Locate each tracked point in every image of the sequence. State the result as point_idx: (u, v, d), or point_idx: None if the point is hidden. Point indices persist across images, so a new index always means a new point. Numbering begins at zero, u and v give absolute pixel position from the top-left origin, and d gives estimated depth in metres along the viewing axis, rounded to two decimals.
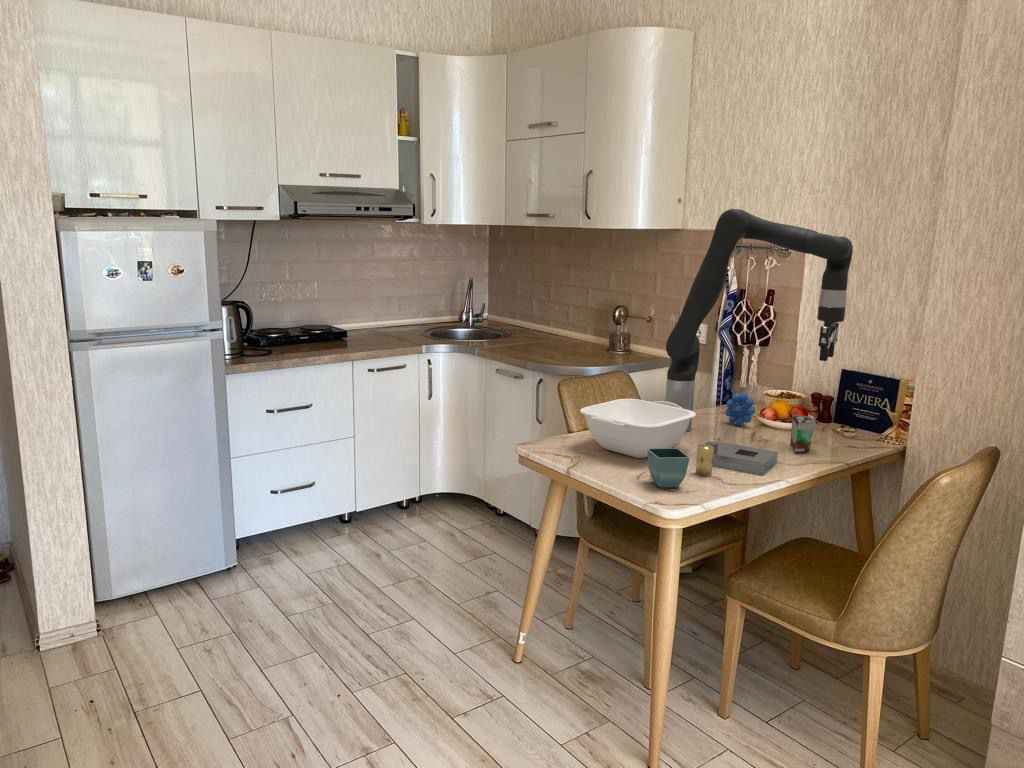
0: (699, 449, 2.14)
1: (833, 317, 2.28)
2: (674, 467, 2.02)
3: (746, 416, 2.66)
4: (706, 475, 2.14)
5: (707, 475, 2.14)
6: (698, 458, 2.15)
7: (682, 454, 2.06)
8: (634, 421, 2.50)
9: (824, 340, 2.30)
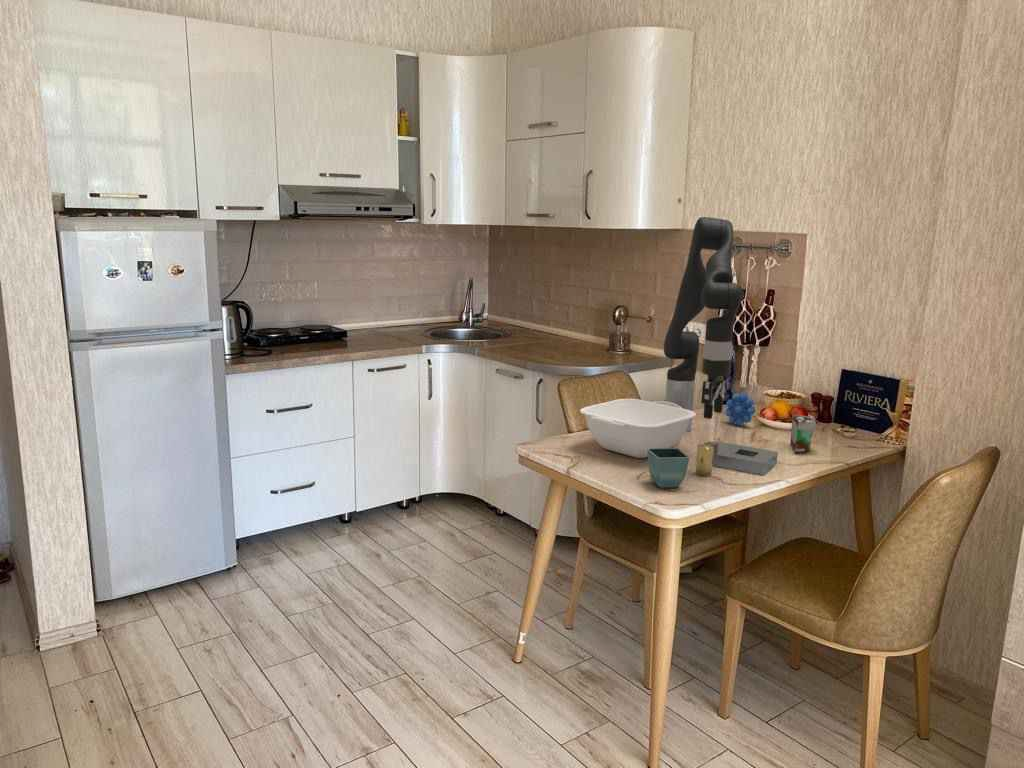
0: (699, 449, 2.14)
1: (717, 371, 2.07)
2: (674, 467, 2.02)
3: (746, 416, 2.66)
4: (706, 475, 2.14)
5: (707, 475, 2.14)
6: (698, 458, 2.15)
7: (682, 454, 2.06)
8: (634, 421, 2.50)
9: (708, 396, 2.09)
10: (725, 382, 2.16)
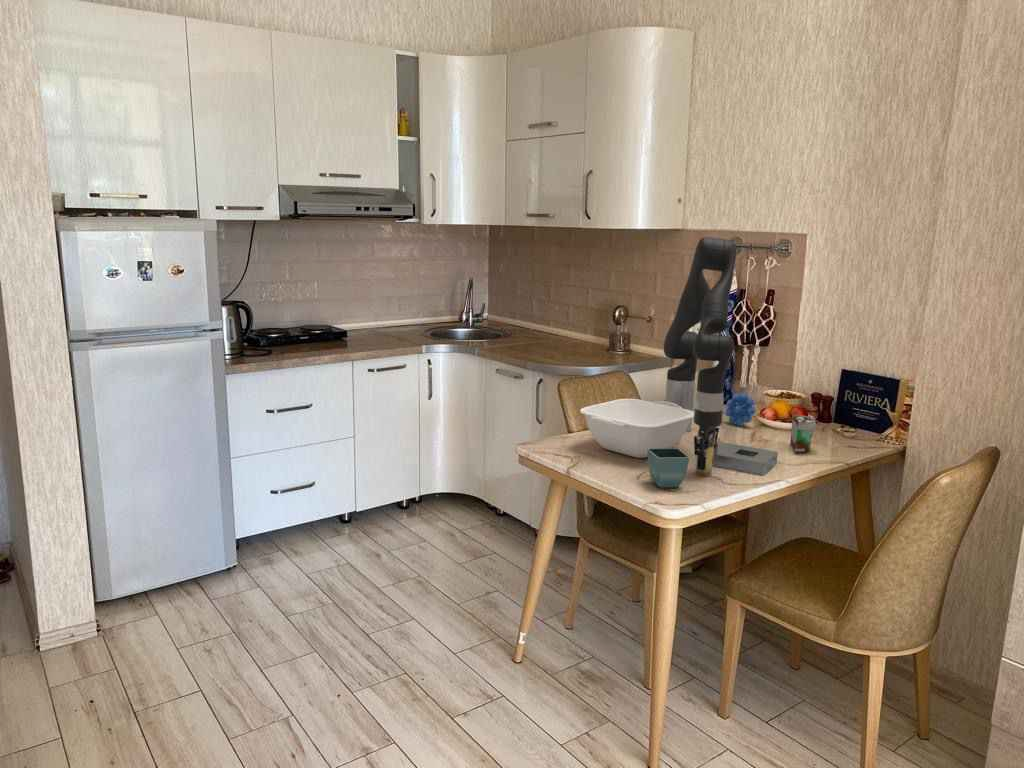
0: None
1: (708, 422, 2.10)
2: (674, 467, 2.02)
3: (746, 416, 2.66)
4: (706, 475, 2.14)
5: (707, 475, 2.14)
6: None
7: (682, 454, 2.06)
8: (634, 421, 2.50)
9: None
10: (716, 434, 2.18)
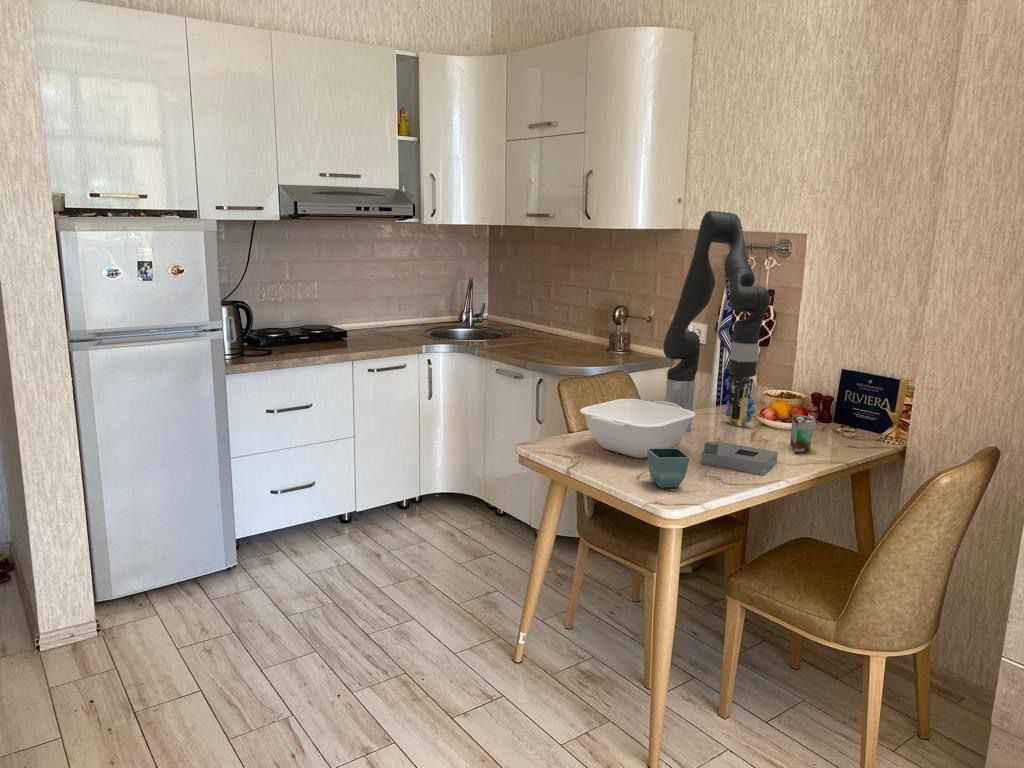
0: None
1: (743, 372, 2.15)
2: (674, 467, 2.02)
3: (746, 416, 2.66)
4: (740, 424, 2.19)
5: (741, 424, 2.19)
6: None
7: (682, 454, 2.06)
8: (634, 421, 2.50)
9: None
10: (750, 385, 2.23)
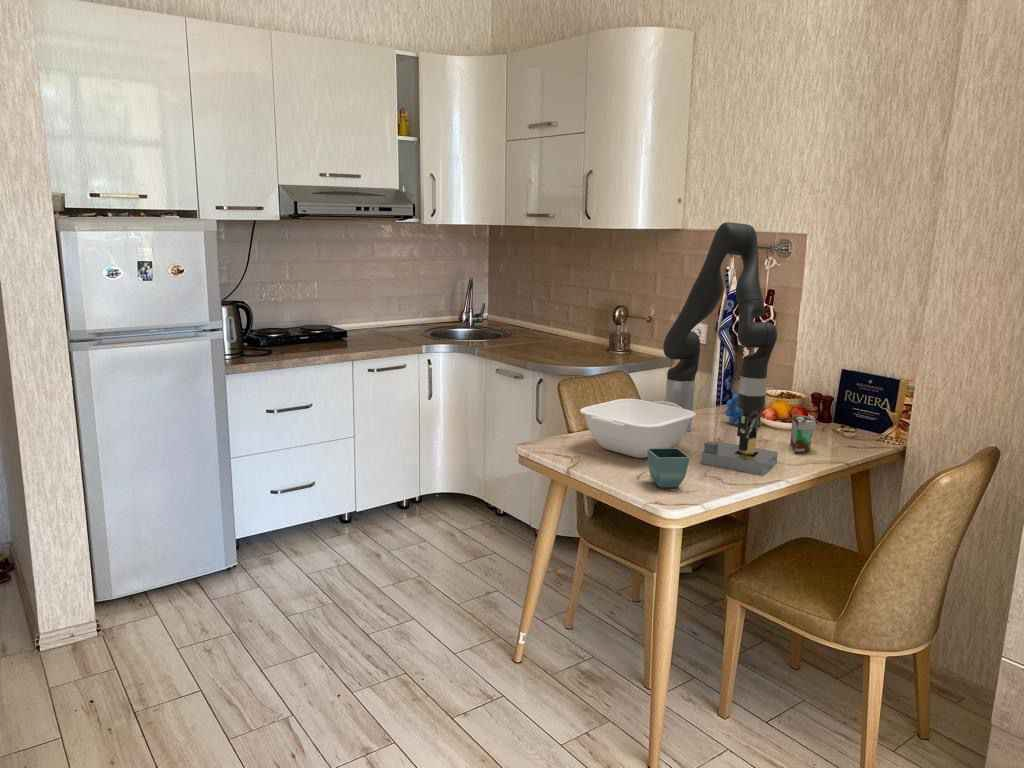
0: None
1: (752, 406, 2.19)
2: (674, 467, 2.02)
3: None
4: None
5: None
6: None
7: (682, 454, 2.06)
8: (634, 421, 2.50)
9: (744, 429, 2.21)
10: (759, 415, 2.27)
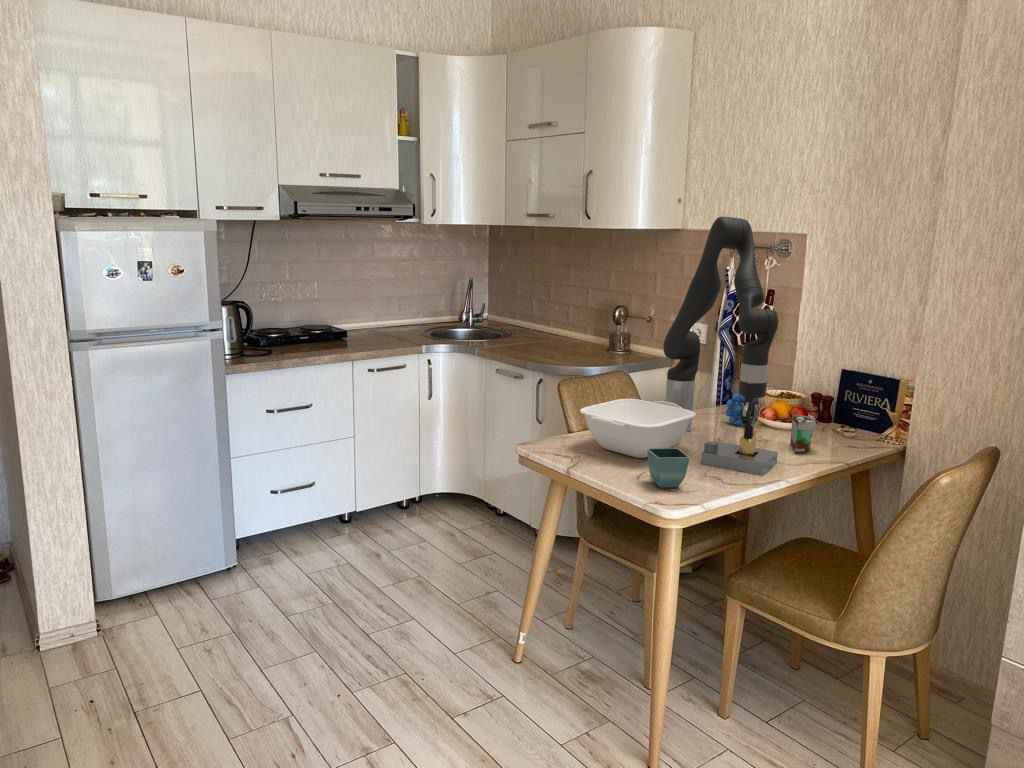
0: (742, 440, 2.23)
1: (753, 393, 2.18)
2: (674, 467, 2.02)
3: None
4: None
5: None
6: (741, 449, 2.24)
7: (682, 454, 2.06)
8: (634, 421, 2.50)
9: None
10: (758, 408, 2.26)
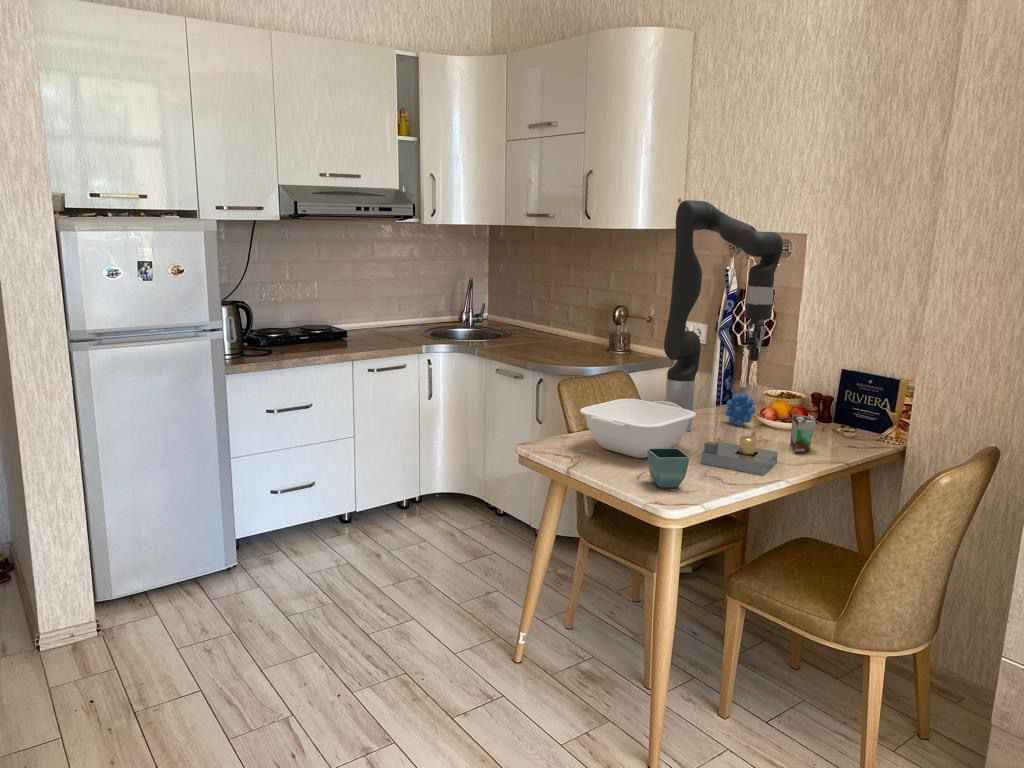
0: (742, 440, 2.23)
1: (759, 314, 2.23)
2: (674, 467, 2.02)
3: (746, 416, 2.66)
4: None
5: None
6: (741, 449, 2.24)
7: (682, 454, 2.06)
8: (634, 421, 2.50)
9: None
10: (764, 332, 2.31)
